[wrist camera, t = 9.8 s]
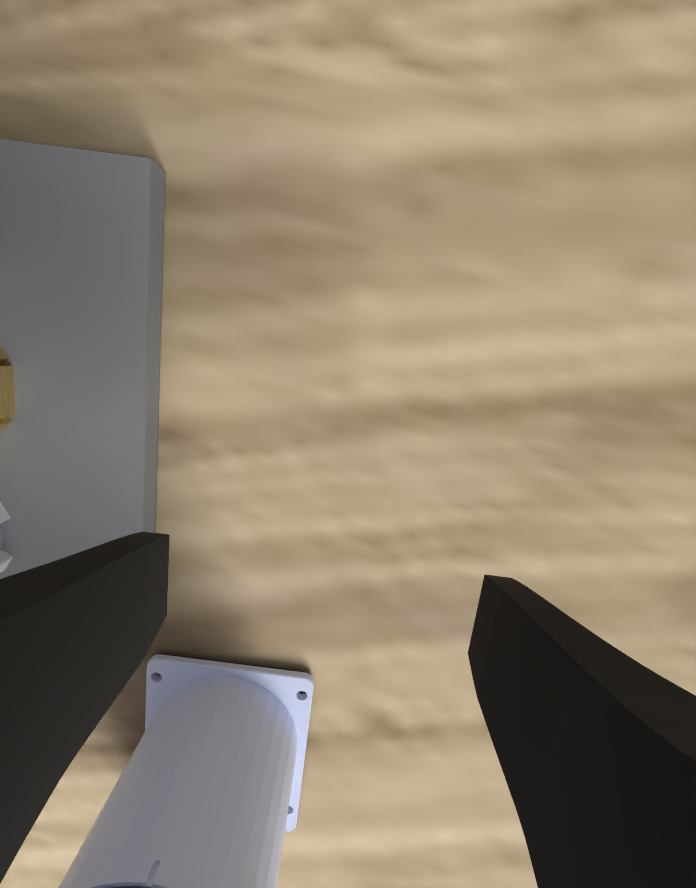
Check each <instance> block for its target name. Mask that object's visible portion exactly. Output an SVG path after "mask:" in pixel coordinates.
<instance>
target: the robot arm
mask: <svg viewBox="0 0 696 888" xmlns="http://www.w3.org/2000/svg"><path fill="white" fill-rule="evenodd" d="M168 560H169V535H167V534H159V533H151V532H138V533H134V534H130V535H127V536H124V537H121V538H118V539H115V540H112V541H109V542H106V543H103V544H101V545H98V546H95V547H92V548H90V549H87V550H84V551H81V552H78V553H76V554H73V555H70V556H67V557H65V558H62V559H59V560H56V561H53V562H50V563H47V564H44V565H41V566H38V567H35V568H32V569H29V570H26V571H23V572H20V573H17V574H14V575H11V576H8V577H5V578H2V579H0V883H1V881H2V880H3V878H4V876H5V874H6V872H7V871H8V869H9V867H10V865H11V863H12V862H13V860H14V858H15V856H16V854H17V853H18V851H19V849H20V847H21V845H22V844H23V842H24V840H25V838H26V837H27V835H28V833H29V832H30V830H31V828H32V826H33V825H34V823H35V821H36V820H37V818H38V816H39V814H40V813H41V811H42V809H43V808H44V806H45V804H46V802H47V801H48V799H49V797H50V795H51V794H52V792H53V790H54V789H55V787H56V785H57V783H58V782H59V780H60V779H61V777H62V776H63V774H64V772H65V771H66V769H67V768H68V766H69V765H70V763H71V762H72V760H73V759H74V757H75V756H76V754H77V753H78V751H79V750H80V748H81V747H82V746H83V744H84V743H85V741H86V740H87V738H88V737H89V736H90V734H91V733H92V731H93V730H94V729H95V727H96V726H97V724H98V723H99V721H100V720H101V719H102V717H103V716H104V714H105V713H106V711H107V710H108V709H109V707H110V706H111V704H112V703H113V702H114V700H115V699H116V697H117V696H118V694H119V693H120V692H121V690H122V689H123V687H124V686H125V684H126V683H127V682H128V680H129V679H130V677H131V676H132V674H133V673H134V671H135V670H136V669H137V667H138V666H139V664H140V663H141V661H142V660H143V658H144V657H145V655H146V653H147V652H148V650H149V648H150V646H151V644H152V642H153V641H154V639H155V637H156V635H157V633H158V631H159V629H160V627H161V625H162V623H163V621H164V619H165V617H166V615H167V589H168ZM468 655H469V661H470V666H471V671H472V676H473V680H474V685H475V689H476V694H477V698H478V701H479V704H480V707H481V710H482V713H483V716H484V719H485V722H486V724H487V727H488V730H489V733H490V736H491V739H492V742H493V745H494V747H495V750H496V753H497V756H498V759H499V762H500V764H501V767H502V770H503V773H504V776H505V779H506V781H507V784H508V787H509V790H510V793H511V796H512V799H513V801H514V804H515V807H516V810H517V813H518V816H519V820H520V823H521V826H522V829H523V832H524V836H525V839H526V843H527V847H528V850H529V854H530V858H531V862H532V866H533V870H534V874H535V878H536V882H537V885H538V888H696V696H695V695H693V694H692V693H690V692H688V691H686V690H684V689H683V688H681V687H679V686H677V685H675V684H674V683H672V682H670V681H668V680H667V679H665V678H663V677H661V676H660V675H658V674H656V673H655V672H653V671H651V670H650V669H648V668H646V667H645V666H643V665H641V664H640V663H638V662H637V661H635V660H634V659H632V658H630V657H629V656H627V655H626V654H624V653H623V652H621V651H619V650H618V649H616V648H615V647H613V646H612V645H610V644H609V643H607V642H606V641H604V640H603V639H601V638H600V637H598V636H597V635H595V634H594V633H592V632H591V631H589V630H588V629H586V628H585V627H584V626H582V625H581V624H579V623H578V622H576V621H575V620H574V619H572V618H571V617H569V616H568V615H566V614H565V613H564V612H562V611H561V610H559V609H558V608H557V607H555V606H554V605H552V604H551V603H549V602H548V601H547V600H545V599H544V598H542V597H541V596H540V595H538V594H537V593H535V592H534V591H532V590H531V589H529V588H528V587H526V586H525V585H523V584H521V583H520V582H518V581H516V580H514V579H512V578H507V577H499V576H492V575H485V576H484V580H483V585H482V590H481V594H480V599H479V604H478V608H477V613H476V618H475V622H474V627H473V632H472V636H471V641H470V646H469V650H468ZM156 673H159V674H160V675H161V676H158V675H157V674H156ZM313 687H314V679H313V677H312V676H311V675H310V674H308V673H304V672H296V671H289V670H281V669H273V668H265V667H257V666H249V665H241V664H233V663H225V662H217V661H209V660H201V659H193V658H185V657H177V656H169V655H161V654H158V655H154V656H152V658H151V659H150V660H149V662H148V663H147V671H146V713H145V733H144V734H143V736H142V738H141V740H140V742H139V743H138V745H137V747H136V749H135V751H134V752H133V754H132V756H131V758H130V760H129V761H128V763H127V765H126V767H125V769H124V770H123V772H122V774H121V776H120V778H119V779H118V781H117V783H116V785H115V787H114V789H113V790H112V792H111V794H110V796H109V798H108V799H107V801H106V803H105V805H104V807H103V808H102V810H101V812H100V814H99V816H98V817H97V819H96V821H95V823H94V825H93V826H92V828H91V830H90V832H89V834H88V835H87V837H86V839H85V841H84V843H83V845H82V846H81V848H80V850H79V852H78V854H77V855H76V857H75V859H74V861H73V863H72V864H71V866H70V868H69V870H68V872H67V873H66V875H65V877H64V879H63V881H62V882H61V884H60V886H59V888H276V886H277V879H278V873H279V866H280V859H281V853H282V846H283V840H284V833H285V832H289V831H292V830H293V829H295V827H296V823H297V815H298V807H299V799H300V791H301V783H302V775H303V767H304V759H305V751H306V743H307V735H308V727H309V719H310V711H311V703H312V695H313ZM299 691H304V692H306V693H305V694H301V693H299Z"/></svg>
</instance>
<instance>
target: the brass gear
mask: <svg viewBox="0 0 696 888" xmlns="http://www.w3.org/2000/svg"><path fill="white" fill-rule="evenodd" d="M8 359H10V357H9V356H8V355H7V354H6V353H5V352H4V351H3V350H2V348H1V347H0V432H2V431H3V430H4V429H5V428H6V427H7V426H8V425H10V424H11V423H12V421H11V419H10V418H9V417H10V416H15V398H14V371H13V365H6V364H4V363H5V362H6V361H7V360H8Z"/></svg>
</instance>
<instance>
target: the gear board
mask: <svg viewBox="0 0 696 888" xmlns="http://www.w3.org/2000/svg"><path fill="white" fill-rule="evenodd" d="M164 198H165V171H164V170H163V169H162V168H161V167H160V166H159V165H158V164H157V163H156V162H154V161H153V160H152V159H151V158H147V157H139V156H131V155H123V154H115V153H108V152H100V151H92V150H84V149H77V148H69V147H61V146H53V145H45V144H38V143H30V142H22V141H14V140H7V139H0V347H1V348H2V350H3V351H4V352H5V353H6V354H7V355H8V356H9V357H10V359H8V360H7V361H6V362H5V363H4V364H6V365H13V371H14V398H15V416H10V417H9V418H10V419H11V421H12V423H11V424H10V425H8V426H7V427H6V428H5V429H4V430H3V431H2V432H0V579H2V578H5V577H8V576H11V575H14V574H17V573H20V572H23V571H26V570H29V569H32V568H35V567H38V566H41V565H44V564H47V563H50V562H53V561H56V560H59V559H62V558H65V557H67V556H70V555H73V554H76V553H78V552H81V551H84V550H87V549H90V548H92V547H95V546H98V545H101V544H103V543H106V542H109V541H112V540H115V539H118V538H121V537H124V536H127V535H130V534H134V533H138V532H151V533H155V528H156V491H157V455H158V418H159V381H160V345H161V308H162V271H163V234H164Z"/></svg>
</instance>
